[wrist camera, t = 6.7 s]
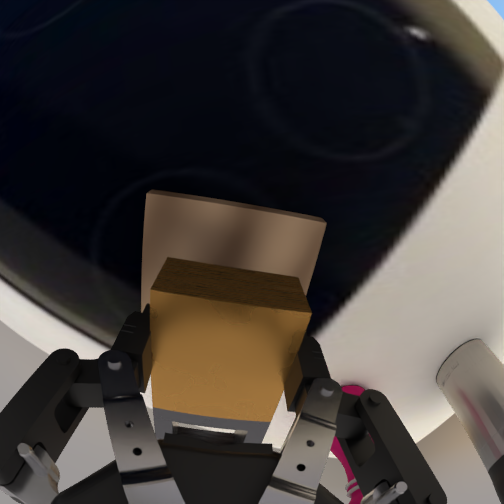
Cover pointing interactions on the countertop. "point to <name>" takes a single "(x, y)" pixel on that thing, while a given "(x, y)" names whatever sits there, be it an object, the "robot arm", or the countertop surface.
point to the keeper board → (227, 237)
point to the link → (222, 348)
